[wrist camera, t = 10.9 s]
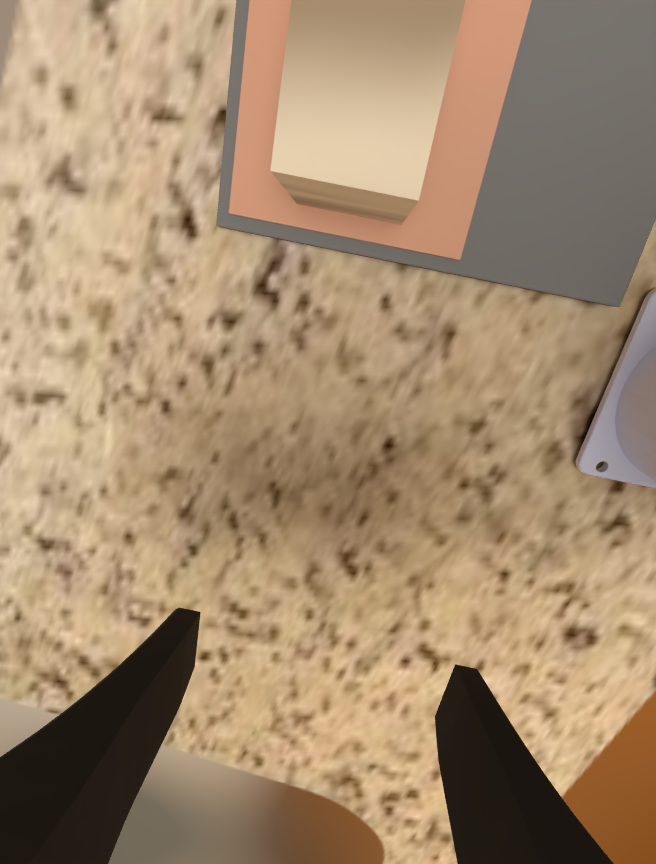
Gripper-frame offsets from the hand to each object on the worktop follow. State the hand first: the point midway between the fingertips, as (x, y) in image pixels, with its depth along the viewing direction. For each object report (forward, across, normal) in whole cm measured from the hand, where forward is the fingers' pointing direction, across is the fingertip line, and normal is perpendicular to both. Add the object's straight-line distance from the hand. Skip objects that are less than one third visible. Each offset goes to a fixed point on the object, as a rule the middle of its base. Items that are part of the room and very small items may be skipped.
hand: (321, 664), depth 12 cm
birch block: (+9, +2, -16) cm, 18 cm away
